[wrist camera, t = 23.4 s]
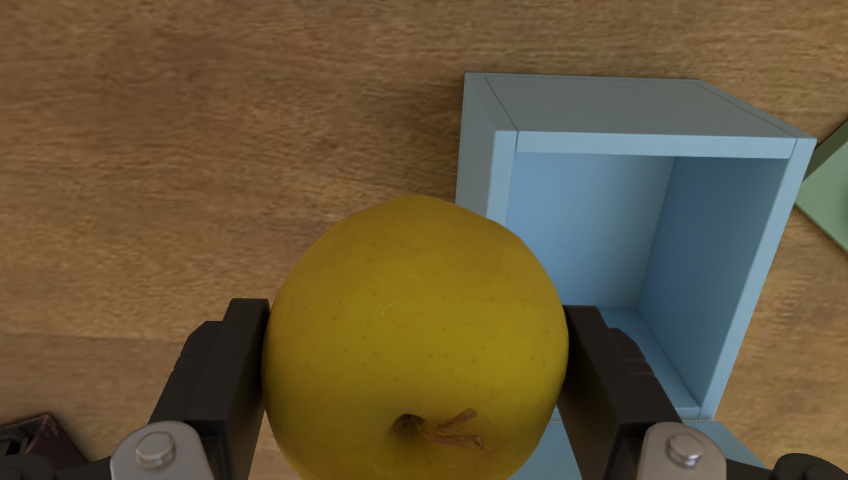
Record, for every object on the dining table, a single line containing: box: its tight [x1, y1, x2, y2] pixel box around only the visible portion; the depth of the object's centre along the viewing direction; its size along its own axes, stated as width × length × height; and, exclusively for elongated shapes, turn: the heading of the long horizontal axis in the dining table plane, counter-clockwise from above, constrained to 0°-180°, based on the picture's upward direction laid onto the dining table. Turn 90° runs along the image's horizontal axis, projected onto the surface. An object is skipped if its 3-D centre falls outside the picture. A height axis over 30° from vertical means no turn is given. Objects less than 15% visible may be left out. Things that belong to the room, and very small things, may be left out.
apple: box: [261, 194, 569, 480], centre depth 13 cm, size 6×6×8 cm
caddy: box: [455, 72, 817, 422], centre depth 28 cm, size 14×12×9 cm
